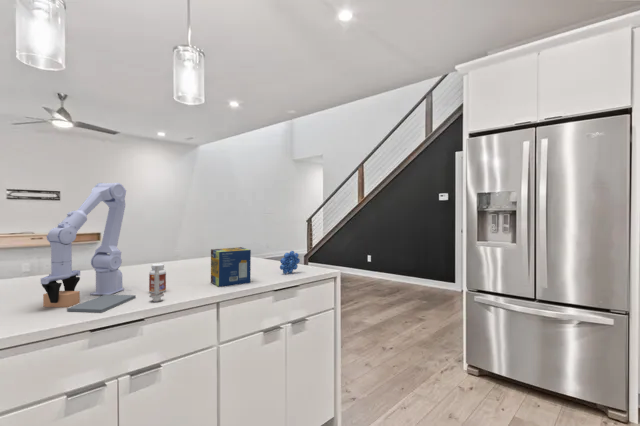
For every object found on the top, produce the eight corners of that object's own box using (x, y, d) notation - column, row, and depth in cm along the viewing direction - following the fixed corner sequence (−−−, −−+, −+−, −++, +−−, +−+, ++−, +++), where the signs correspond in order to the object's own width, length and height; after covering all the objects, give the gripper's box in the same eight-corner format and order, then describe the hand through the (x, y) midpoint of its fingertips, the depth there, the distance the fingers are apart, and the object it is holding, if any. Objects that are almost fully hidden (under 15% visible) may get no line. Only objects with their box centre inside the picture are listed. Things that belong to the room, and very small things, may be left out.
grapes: (295, 271, 185) (295, 249, 184) (301, 273, 179) (301, 250, 179) (276, 273, 178) (276, 250, 178) (282, 275, 172) (282, 252, 172)
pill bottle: (148, 294, 134) (148, 266, 134) (149, 290, 139) (149, 263, 139) (166, 292, 136) (166, 265, 136) (165, 289, 142) (166, 263, 142)
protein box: (210, 282, 155) (210, 249, 154) (241, 278, 164) (241, 247, 164) (218, 287, 146) (218, 251, 146) (251, 282, 156) (251, 249, 155)
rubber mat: (105, 297, 129) (105, 294, 129) (135, 297, 128) (135, 295, 128) (67, 311, 111) (66, 308, 111) (101, 312, 110) (101, 309, 110)
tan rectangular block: (55, 303, 121) (55, 290, 121) (79, 303, 121) (79, 291, 121) (43, 307, 116) (43, 294, 116) (68, 307, 116) (68, 294, 116)
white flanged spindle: (166, 299, 126) (158, 303, 122) (155, 298, 127) (146, 302, 122) (166, 264, 126) (158, 267, 121) (155, 264, 127) (146, 266, 122)
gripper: (67, 258, 126) (67, 294, 126) (31, 264, 111) (32, 305, 111) (85, 258, 125) (85, 295, 125) (51, 265, 111) (52, 306, 111)
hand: (61, 300), depth 118 cm, fingers open, 6 cm apart
